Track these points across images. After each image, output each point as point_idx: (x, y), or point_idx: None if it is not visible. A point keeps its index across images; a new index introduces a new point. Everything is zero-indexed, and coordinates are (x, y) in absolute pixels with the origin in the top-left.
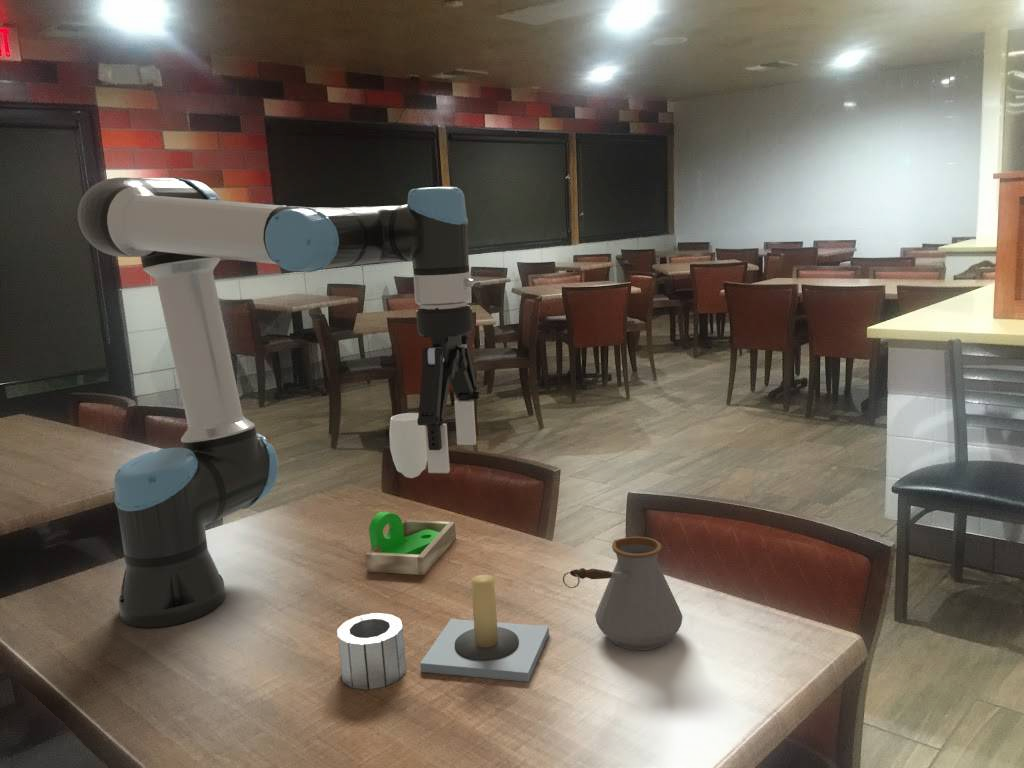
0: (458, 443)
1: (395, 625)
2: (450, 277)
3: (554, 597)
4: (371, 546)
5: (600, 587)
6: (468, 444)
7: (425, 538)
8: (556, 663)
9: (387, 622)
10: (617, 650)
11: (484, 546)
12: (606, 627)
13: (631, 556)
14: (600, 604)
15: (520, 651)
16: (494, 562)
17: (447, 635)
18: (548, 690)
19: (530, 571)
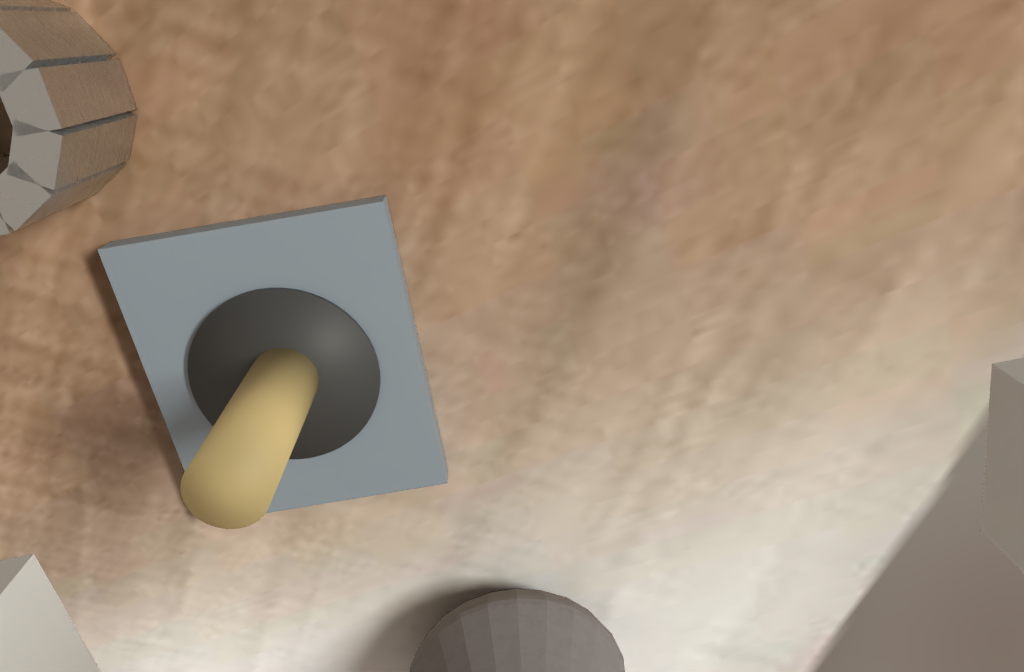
0: (1001, 384)
1: (3, 203)
2: None
3: (666, 404)
4: None
5: (757, 494)
6: (987, 476)
7: None
8: (320, 531)
9: (11, 155)
10: (433, 622)
11: None
12: (423, 649)
13: None
14: (481, 645)
15: (290, 470)
16: (908, 104)
17: (280, 245)
18: (204, 556)
19: (842, 265)
